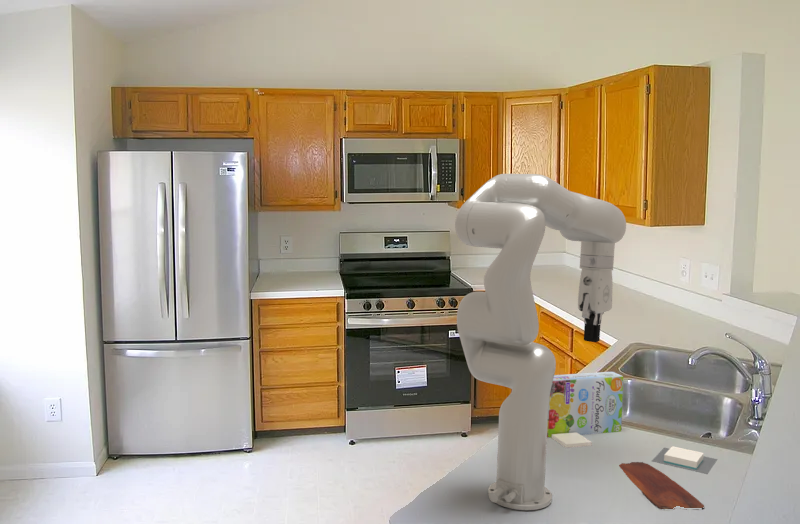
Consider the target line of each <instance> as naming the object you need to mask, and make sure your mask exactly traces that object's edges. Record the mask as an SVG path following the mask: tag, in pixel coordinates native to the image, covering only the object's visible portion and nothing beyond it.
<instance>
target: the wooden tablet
mask: <svg viewBox="0 0 800 524" xmlns="http://www.w3.org/2000/svg"><path fill="white" fill-rule="evenodd" d="M618 466H619V468H620V469H621V470H622V472H623V473H624V474H625V476H626V477H627V478H628V479H629V480H630V481H631V482H632V483H633V484H634V485H635V487H636V488H638V489H639V490H640V491H641V493H642V494H643V495H644V496H645V497H646V498H647V500H649V501H650V502H651V503H652V504H653V505H654V506H655V507H656V508H658V509H660V510H662V509H673V508H674V507H676V506H680V507H684V508H703V507H704V508H705V506H704V504H703V503H702V502H701V501H700V500H699V499H697V497H695V495H692V494H691V493H690V492H689V491H687V490H686V489H685V488H684V487H682V486H681V485H680V484H679V483H677V482H676V481H675V480H672V478H671V477H670V476H668V475H666V474H665V473H664V472H662V471H661V470H659V469H658V468H655V467H653V466H652V465H650V464H649V463H645V462H643V461H642V462H641V461H640V462H639V461H631V462H627V463H624V462H621V464H619V465H618ZM673 510H674V509H673Z"/></svg>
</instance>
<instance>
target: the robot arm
mask: <svg viewBox="0 0 800 524" xmlns="http://www.w3.org/2000/svg"><path fill="white" fill-rule="evenodd" d="M546 227H547V228H550V229H552V230H554V231H555V230H556V231H559V233H560V234H561V235H562V237H563V238H564V239H567V240H568V241H572V242H580V252H579V253H580V256H579V269H581V272H580V278H579V286H578V294H577V295H578V296H577V308H578V310H579V311H580V312H581V317H582V318H583V323H584V329H583V341H584V342H591V343H599V342H600V336H601V325H602V324H601V323H602V317H603V315H605V313H607V312H609V311H610V310H612V308H613V271H614V262H615V247H616V243H618V242H621V240H622V239H623V238H624V236H625V234H626V230H627V221H626V216H625V215H624V213H623V211H622V210H621V209H620V208H619V207H618V206H616V205H614V203H611V202H608V201H606V200H603V199H599V198H595V197H592V196H588V195H584V194H583V193H578V192H575V191H571V190H569V189H568V188H566V187H565V186H563V185H562V184H559V183H558V182H557V181H555V180H553V179H552V178H550V177H548V176H547V175H544V174H538V173H501V174H497V175H495V176H493V177H491V178H490V179H489V180H487V181H486V182H484V184H483V185H481V186H480V188H478V189H477V190H476V191H475V192H473V194H472V195H471V196H470V197H469V198H468V199H467V200H466V201H464V203H463V204H462V205H461V206H460V208H459V210H458V212H457V214H456V217H455V221H454V229H455V233H456V236H457V238H458V239H459V240H460V241H461V243H462V244H465V245H466V246H470V247H477V248H489V249H501V250H500V252H499V253H498V255H497V256H496V258H495V259H493V260H492V262H491V263H490V265H489V266H488V268H487V270H486V271H485V275H484V277H483V286H484V291H472V292H469V293H467V294H466V295H464V297H463V298H462V299H461V300H460V302H459V305H458V306H457V307H458V308H457V313H456V328H457V332H458V336H459V340H460V343H461V347H462V351H463V354H464V357H465V360H466V364H467V367H468V370H469V372H470V374H471V376H473V378H475V379H476V380H478V381H481V382H484V383H487V384H492V385H496V386H497V385H498V386H502V387H506V388H509V389H511V392H510V393H509V395H508V396H507V397H506V398H505V399H504V400H503V402H502V404H501V405H500V408H499V410H498V411H499V412H498V432H497V433H498V435H497V457H496V459H497V461H496V480H495V482H493V483H491V484H490V485H489V486H488V489H487V495H488V499H489V500H490V502H491V503H495V504H497V505H499V506H502V507H504V508H507V509H511V510H517V511H536V510H537V511H538V510H541V509H544V508H546V507H548V506H549V505H550V504H552V502H553V494H552V491H551V490H550V489H549V488H548V487H546V486H545V481H546V463H547V461H546V460H547V459H546V458H547V444H548V443H547V442H548V441H547V440H548V437H547V426H548V408H549V398H550V392H551V387H552V382H553V378H554V375H556V374H555V373H556V367H557V362H556V361H557V360H556V357H555V354H554V353H553V352H552V350H551V349H550V348H548V347H547V346H546V345H543V344H540V343H537V342H534V341H535V340H536V339H537V338H538V335H539V330H540V329H539V328H540V324H539V318H538V316H539V315H538V310H537V307H536V301H535V298H534V293H533V288H532V281H531V272H532V270H533V269H532V268H533V264H534V262H535V259H536V257H537V254H538V253H539V250H540V247H541V244H542V241H543V239H544V236H545V233H546V232H545V231H546Z"/></svg>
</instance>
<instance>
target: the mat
mask: <svg viewBox="0 0 800 524" xmlns="http://www.w3.org/2000/svg"><path fill="white" fill-rule="evenodd" d="M669 449H670V448H667V447H663V448H662V449H661V450H660V451H659V452H658V453H657V454H656V456H655V457H654V458H653V459H652V460H651V462H653V463H658V464H662V465H666V466H670V467H674V468H679V469H683V470H687V471H692V472H696V473H701V474H705V475H708V474H709V473H710V471H711V470H712V468H713V467H714V465H715V463H716V462H717V461H718V458H714V457H709V456H705V455H704V457H703V461H702V463H701V464H700V466H699V467H698V468H697V470H695V469H691V468H686V467H682V466H678V465H673V464H669V463H665V462H664V455H665V454H666V452H667V451H668V450H669Z"/></svg>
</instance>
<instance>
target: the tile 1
mask: <svg viewBox="0 0 800 524" xmlns="http://www.w3.org/2000/svg"><path fill="white" fill-rule="evenodd" d="M551 439H552V440H554V441H555V442H557V443H558V444H559V445H561V446H562V447H564V448H565V449H571V448H572V449H573V448H579V447H580V448H582V447H592V446H593V442H592V441H591V440H589V439H588V438H586V437H585V436H583V435H580V434H578V433H577V432H575V433H563V434H552V437H551Z"/></svg>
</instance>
